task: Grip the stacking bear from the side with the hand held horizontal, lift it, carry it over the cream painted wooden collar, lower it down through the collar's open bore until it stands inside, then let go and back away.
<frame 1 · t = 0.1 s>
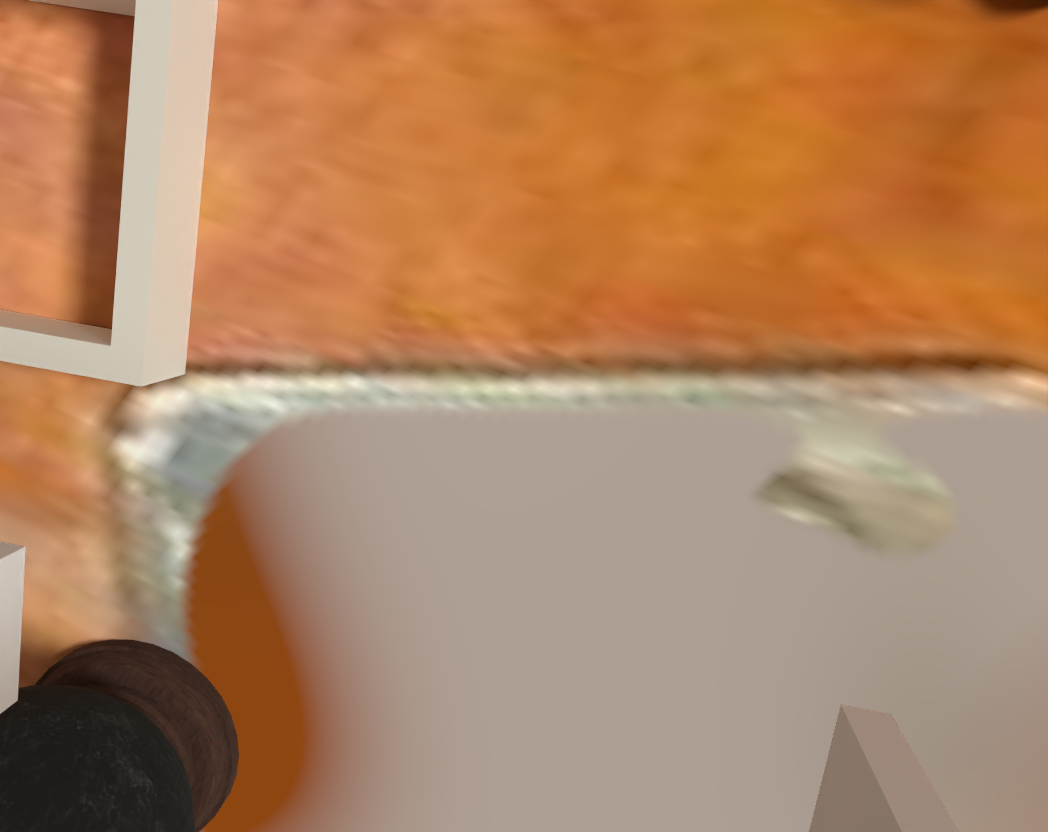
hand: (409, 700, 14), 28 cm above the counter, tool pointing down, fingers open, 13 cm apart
black ball on stand: (135, 739, 47), on the counter
collar: (14, 160, 42), on the counter
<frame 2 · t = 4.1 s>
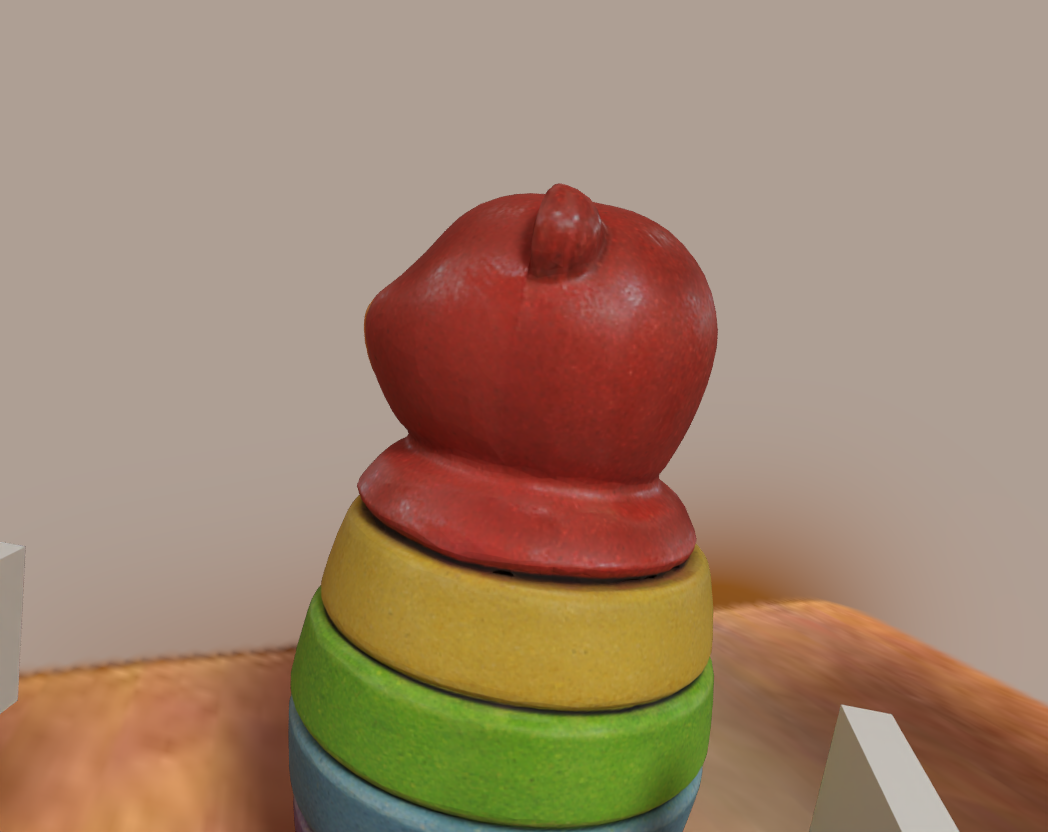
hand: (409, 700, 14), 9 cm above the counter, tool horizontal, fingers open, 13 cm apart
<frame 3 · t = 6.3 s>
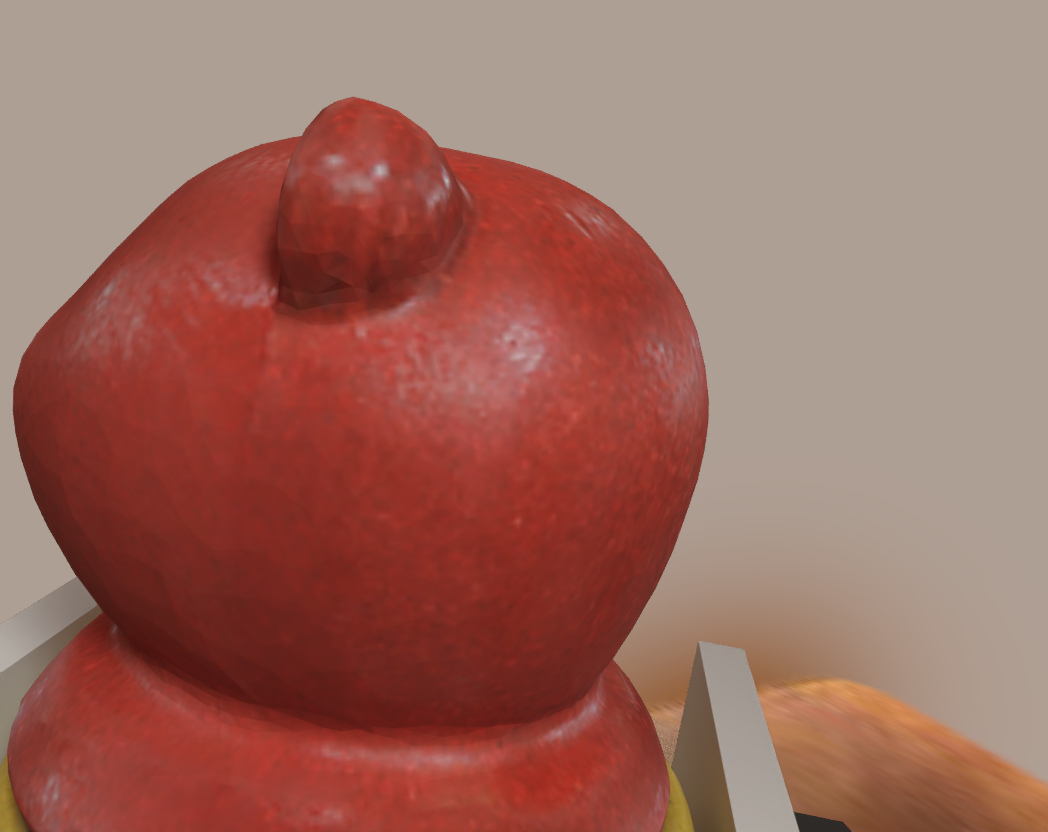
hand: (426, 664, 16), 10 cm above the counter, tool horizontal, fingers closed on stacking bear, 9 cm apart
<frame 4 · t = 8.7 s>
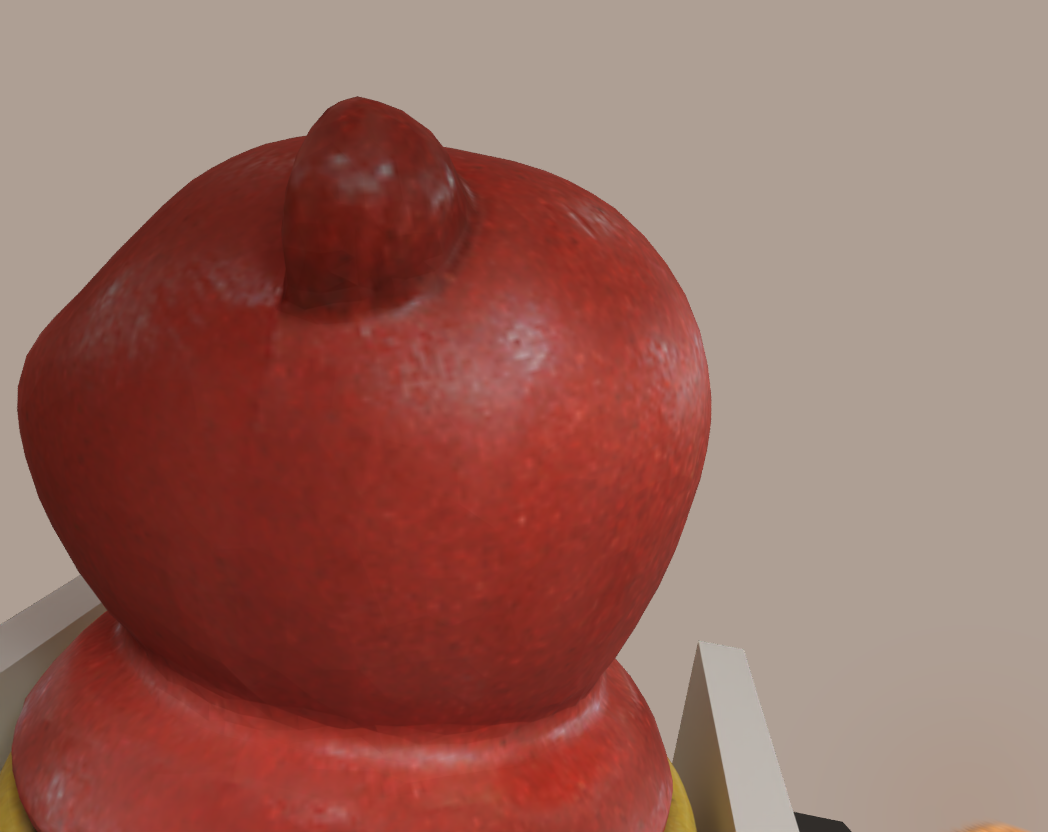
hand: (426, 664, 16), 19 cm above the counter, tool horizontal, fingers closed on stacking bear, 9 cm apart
when the fingers open (11 cm above the counter, at t = 11.0 s): stacking bear drops 2 cm, resting in collar.
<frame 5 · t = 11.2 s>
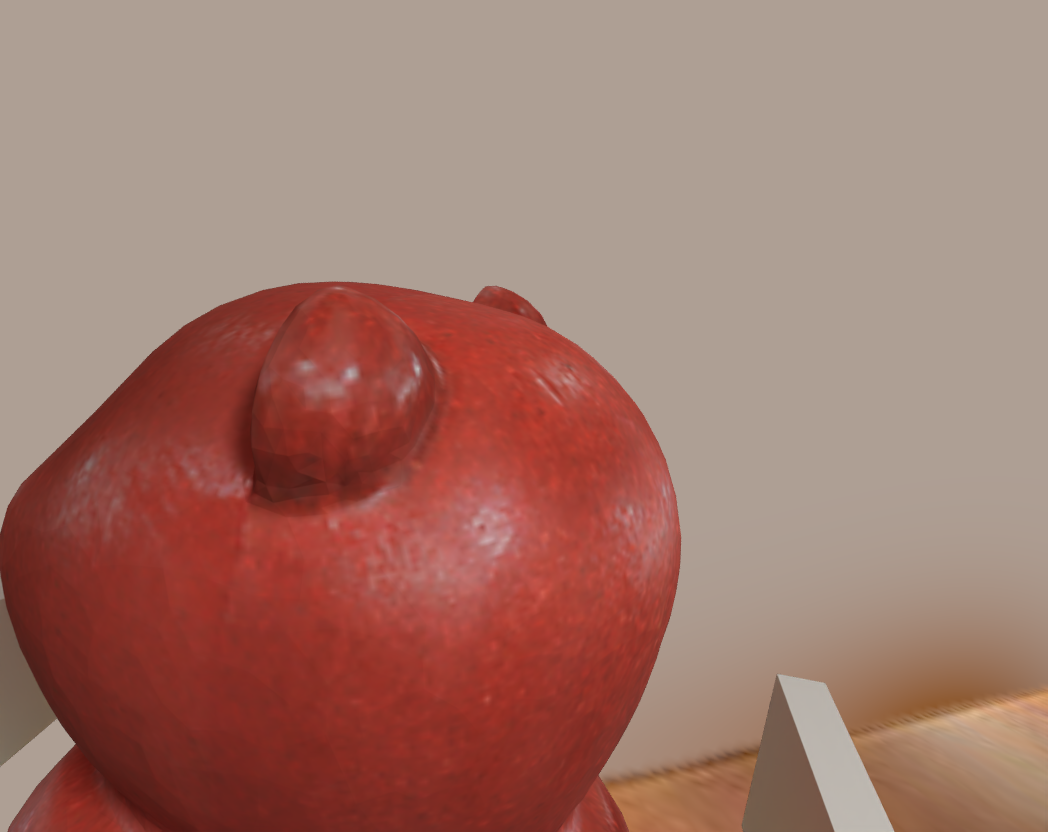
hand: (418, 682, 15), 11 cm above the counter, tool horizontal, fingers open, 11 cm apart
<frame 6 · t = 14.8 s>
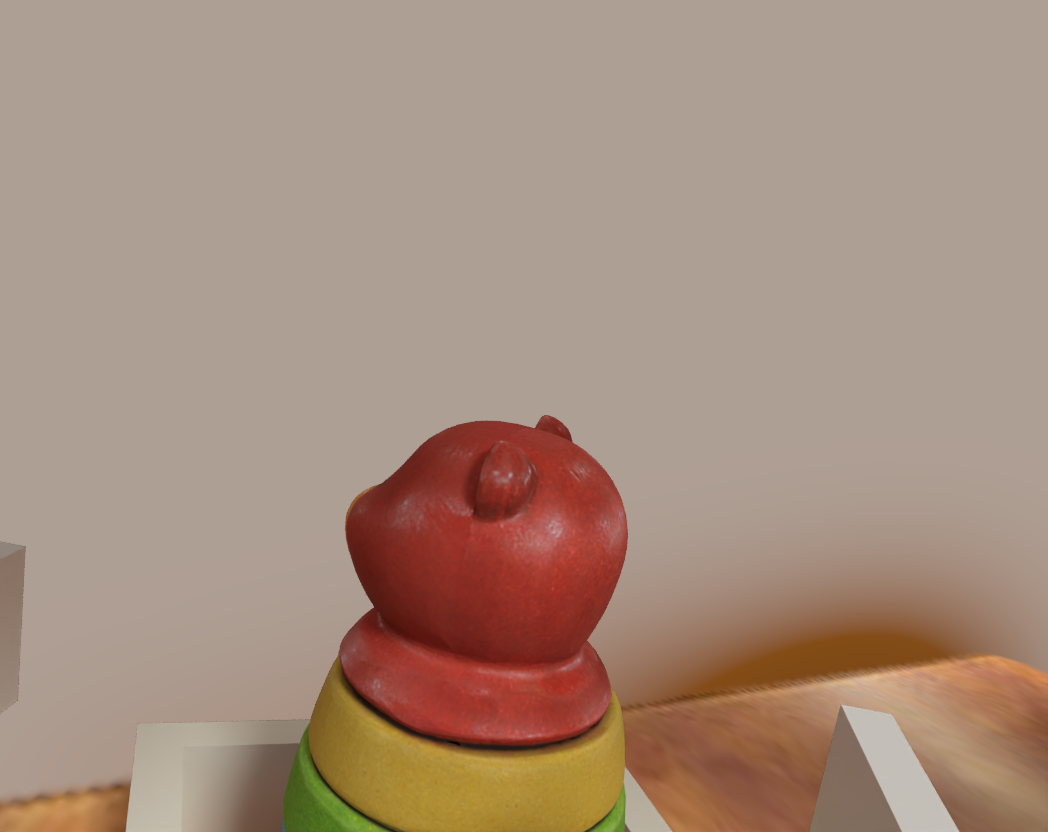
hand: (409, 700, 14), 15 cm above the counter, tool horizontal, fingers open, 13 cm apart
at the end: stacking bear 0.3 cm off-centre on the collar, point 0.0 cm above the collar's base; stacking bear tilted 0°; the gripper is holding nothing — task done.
